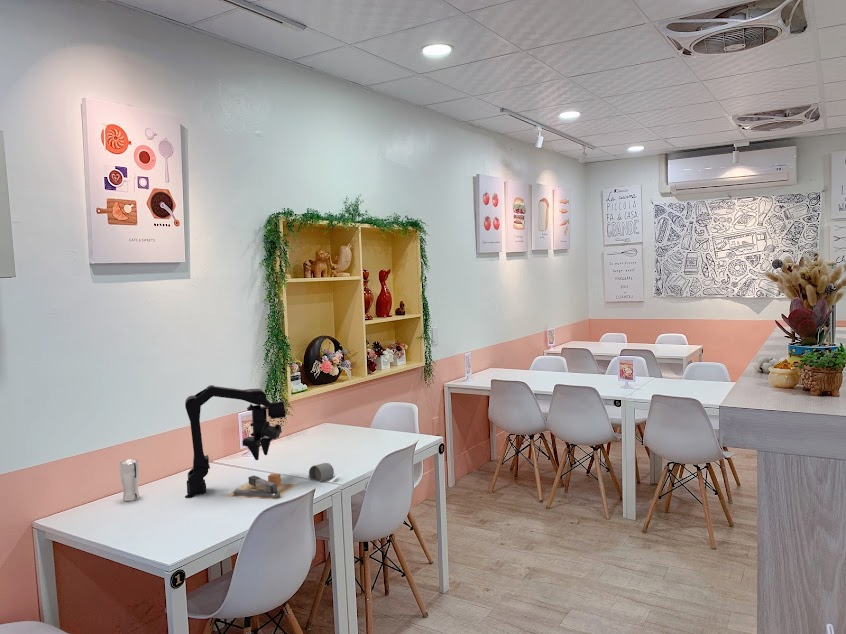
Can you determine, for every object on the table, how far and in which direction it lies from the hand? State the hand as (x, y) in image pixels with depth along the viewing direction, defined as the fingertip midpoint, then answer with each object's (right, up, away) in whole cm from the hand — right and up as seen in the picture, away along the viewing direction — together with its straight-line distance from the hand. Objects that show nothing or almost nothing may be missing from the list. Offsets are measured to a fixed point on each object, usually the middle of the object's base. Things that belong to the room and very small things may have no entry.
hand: (261, 457), depth 266 cm
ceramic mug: (+23, -11, +6) cm, 26 cm away
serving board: (+2, -13, -7) cm, 15 cm away
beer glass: (-49, -14, -10) cm, 52 cm away
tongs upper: (+3, -10, -9) cm, 14 cm away
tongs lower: (+2, -12, -14) cm, 18 cm away
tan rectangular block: (+6, -11, -2) cm, 12 cm away
